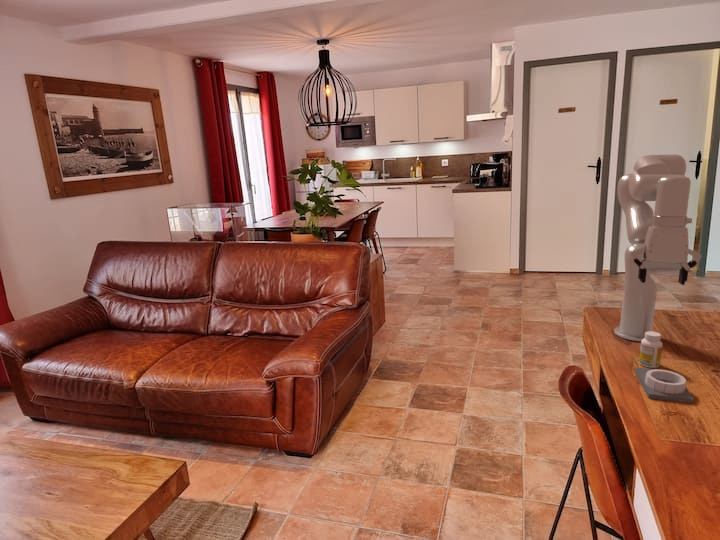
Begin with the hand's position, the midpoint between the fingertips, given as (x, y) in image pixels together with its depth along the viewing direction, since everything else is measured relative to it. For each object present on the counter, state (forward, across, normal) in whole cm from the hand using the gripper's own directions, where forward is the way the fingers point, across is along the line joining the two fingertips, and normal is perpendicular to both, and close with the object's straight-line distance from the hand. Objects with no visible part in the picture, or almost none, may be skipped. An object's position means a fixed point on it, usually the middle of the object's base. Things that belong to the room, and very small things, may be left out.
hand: (661, 282), depth 137 cm
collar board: (+26, 0, +13) cm, 29 cm away
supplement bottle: (+26, 0, -1) cm, 26 cm away
